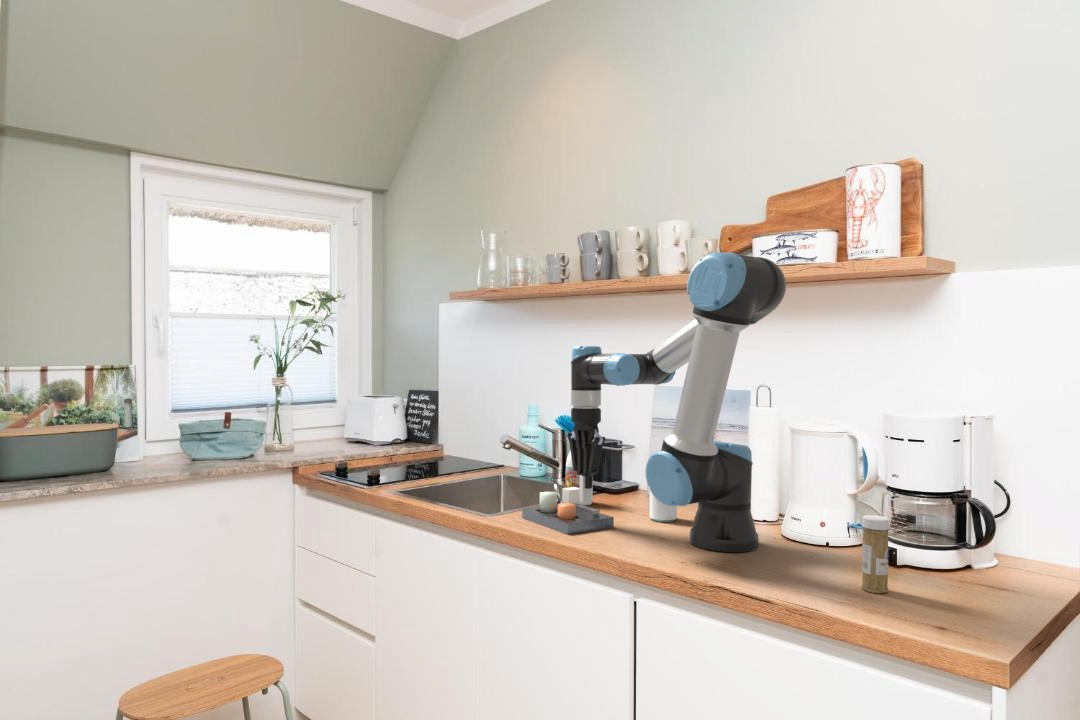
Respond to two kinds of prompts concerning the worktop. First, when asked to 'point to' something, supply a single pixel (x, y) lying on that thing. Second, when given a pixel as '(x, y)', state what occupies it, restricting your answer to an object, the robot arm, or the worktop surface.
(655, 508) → the can
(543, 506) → the button
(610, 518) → the grey base platform
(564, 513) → the button
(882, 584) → the spice jar
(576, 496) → the slider
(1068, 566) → the worktop surface
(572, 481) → the milk bottle
